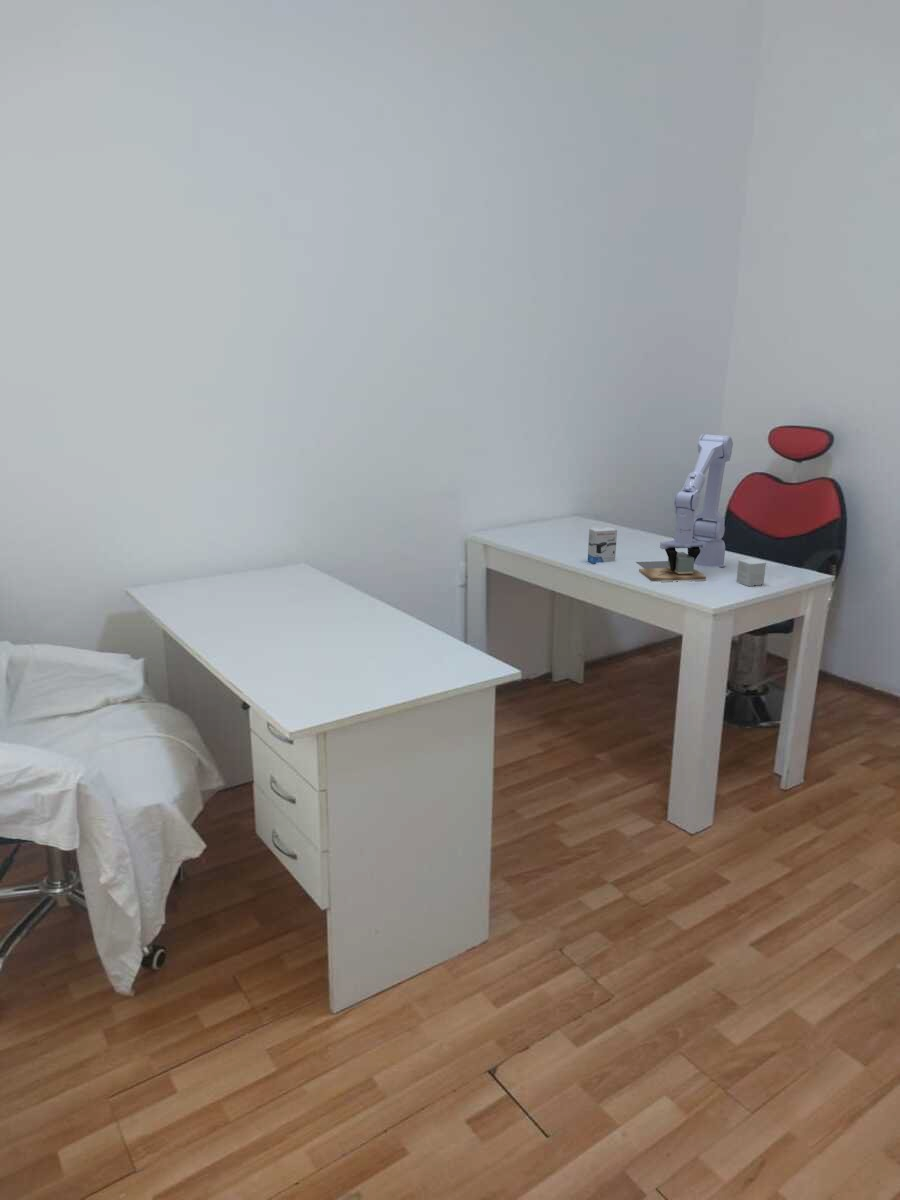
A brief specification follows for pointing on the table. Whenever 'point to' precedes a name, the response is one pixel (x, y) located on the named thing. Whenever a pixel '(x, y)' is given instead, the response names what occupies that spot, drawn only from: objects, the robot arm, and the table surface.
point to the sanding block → (683, 563)
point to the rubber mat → (653, 564)
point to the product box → (751, 572)
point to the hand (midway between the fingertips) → (680, 569)
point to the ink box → (602, 544)
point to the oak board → (670, 575)
